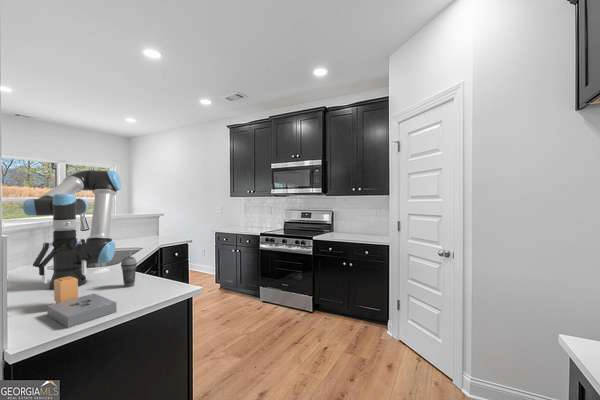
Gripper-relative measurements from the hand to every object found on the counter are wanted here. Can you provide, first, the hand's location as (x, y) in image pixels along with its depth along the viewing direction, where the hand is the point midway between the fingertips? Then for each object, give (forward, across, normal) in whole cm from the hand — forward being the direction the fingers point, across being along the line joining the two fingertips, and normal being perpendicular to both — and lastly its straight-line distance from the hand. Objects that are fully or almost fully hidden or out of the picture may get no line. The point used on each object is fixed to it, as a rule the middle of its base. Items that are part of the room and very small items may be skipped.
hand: (65, 278), depth 119 cm
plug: (+12, 0, 0) cm, 12 cm away
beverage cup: (+12, +28, +4) cm, 31 cm away
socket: (+12, 0, -16) cm, 20 cm away
